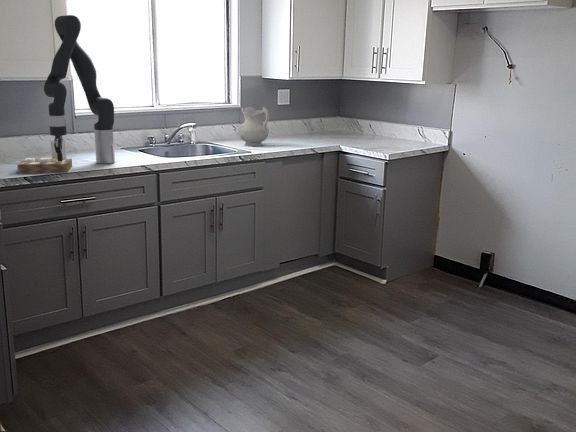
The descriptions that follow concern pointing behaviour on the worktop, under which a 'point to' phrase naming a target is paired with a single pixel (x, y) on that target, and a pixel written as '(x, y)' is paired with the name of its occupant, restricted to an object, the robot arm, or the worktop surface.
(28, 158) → the button
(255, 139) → the ceramic pitcher
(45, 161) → the button middle
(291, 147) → the worktop surface
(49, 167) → the button board
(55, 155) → the skincare box
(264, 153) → the worktop surface
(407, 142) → the worktop surface
